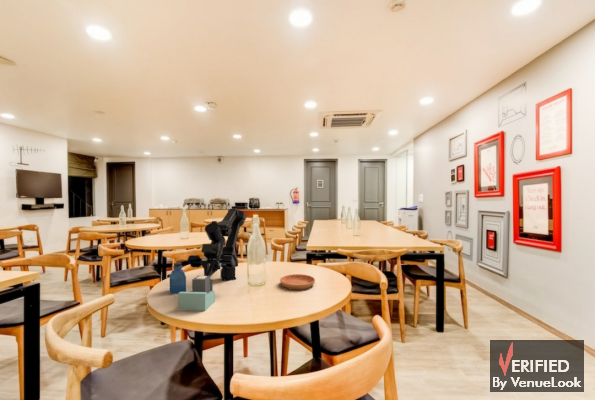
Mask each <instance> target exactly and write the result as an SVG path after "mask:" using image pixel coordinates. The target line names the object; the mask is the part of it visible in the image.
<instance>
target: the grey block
mask: <svg viewBox="0 0 595 400" xmlns="http://www.w3.org/2000/svg"><path fill="white" fill-rule="evenodd" d="M191 280H192V281H191V283H192V285H191V286H192V287H191V288H192V289H191V291H192V292H207V294H208V293H209V292H210V291H214V290H213V278H212V276H204V275H197V276H196V277H193V279H191Z"/></svg>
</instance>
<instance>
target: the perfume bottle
mask: <svg viewBox="0 0 595 400" xmlns="http://www.w3.org/2000/svg"><path fill="white" fill-rule="evenodd" d="M182 268H183V265H182V261H181V262H180V261H178V262H174V263H173V267H172V269H173V270H171V272H170V274H169V295H175V294H176V295H177V294H178V293H179V292H187V276H186V274H185V272H184V270H183V269H182Z"/></svg>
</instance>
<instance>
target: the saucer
mask: <svg viewBox="0 0 595 400" xmlns="http://www.w3.org/2000/svg"><path fill="white" fill-rule="evenodd" d="M279 281H280V284H281V285H282V286H283V287H284V288H286V289H289V290H295V291H296V290H297V291H299V290H307V289H309V288H311V287H312V286H313V285H314V284H315V282H316V279H315V277H314V276H311V275H307V274H301V273H299V274H298V273H296V274H295V273H294V274H287V275H285V276H281V277H280V280H279Z"/></svg>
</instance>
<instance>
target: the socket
mask: <svg viewBox="0 0 595 400" xmlns="http://www.w3.org/2000/svg"><path fill="white" fill-rule="evenodd" d="M177 294H178V295H177V297H178V298H177V301H178V302H177V304H178V306H177V307H178V308H177V310H178V311H192V312H193V311H194V312H195V311H197V312H198V311H200V312H205V311H207V310H208V309H209V308H210V307H211V306H212V305H213V304H214V303H215V302H216V297H215V296H216V295H215V294H216V291H215V290H213V291H210V292H209V293H208V294H207V292H192V290H188V291H186V292H179V293H177Z"/></svg>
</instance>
